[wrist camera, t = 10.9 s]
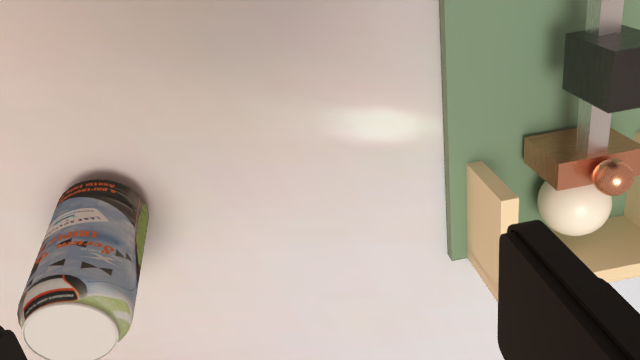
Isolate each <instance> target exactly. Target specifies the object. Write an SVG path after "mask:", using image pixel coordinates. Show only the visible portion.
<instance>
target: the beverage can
mask: <svg viewBox="0 0 640 360" xmlns="http://www.w3.org/2000/svg"><path fill="white" fill-rule="evenodd" d="M147 225H148V211H147V208H146V205H145V203H144V202H143V200H142V199H141V197H140V196H139V195H138V194H137V193H136V192H134V191H133V190H131V189H130V188H128V187H126V186H124V185H122V184H120V183H117V182H113V181H108V180H89V181H84V182H81V183H78V184H76V185H74V186H72V187H71V188H69V189H68V190H67V191H66V192H64V193H63V195H62V196H61V198H60V199H59V202H58V204H57V207H56V209H55V212H54V214H53V217H52V220H51V222H50V225H49V227H48V230H47V233H46V235H45V238H44V240H43V243H42V245H41V248H40V251H39V253H38V256H37V258H36V261H35V264H34V266H33V269H32V271H31V274H30V276H29V279H28V282H27V284H26V287H25V289H24V292H23V295H22V297H21V300H20V302H19V305H18V313H17V314H18V321H19V324H20V327H21V329H22V339H23V341H24V343H25V345H26V346H27V348H28V349H29V350H30V351H31V352H32V353H34V354H35V355H37V356H38V357H40V358H42V359H44V360H101V359H102V358H104V357H106V356H107V355H109V354H110V353H111V352H112V351H113V350H114V349H115V347H116V345H117V343H118V342H119V341H120V340H121V339H122V338H123V337H124V336H125V335H126V334H127V332H128V330H129V328H130V326H131V323H132V319H133V313H134V307H135V301H136V294H137V288H138V282H139V276H140V269H141V263H142V257H143V250H144V244H145V238H146V232H147Z"/></svg>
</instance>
